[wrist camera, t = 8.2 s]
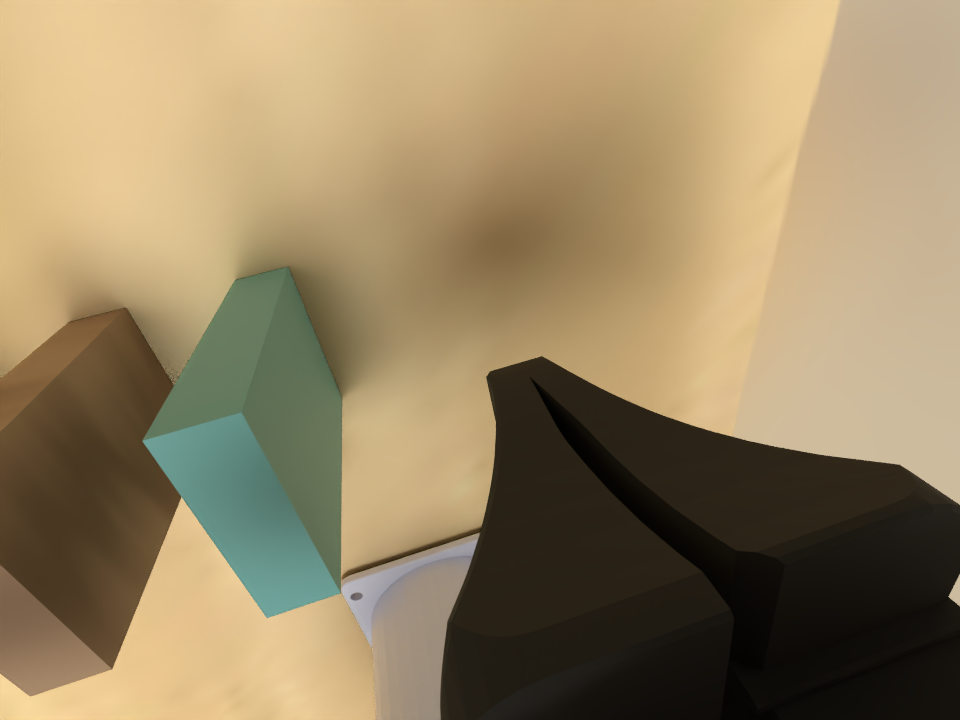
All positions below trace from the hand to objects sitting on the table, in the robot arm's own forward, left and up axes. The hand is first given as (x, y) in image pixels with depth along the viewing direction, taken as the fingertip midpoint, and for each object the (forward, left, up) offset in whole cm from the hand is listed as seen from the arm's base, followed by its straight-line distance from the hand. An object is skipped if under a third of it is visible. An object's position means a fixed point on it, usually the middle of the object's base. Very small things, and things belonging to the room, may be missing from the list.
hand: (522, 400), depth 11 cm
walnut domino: (0, +11, -7) cm, 12 cm away
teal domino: (0, +6, -7) cm, 9 cm away
